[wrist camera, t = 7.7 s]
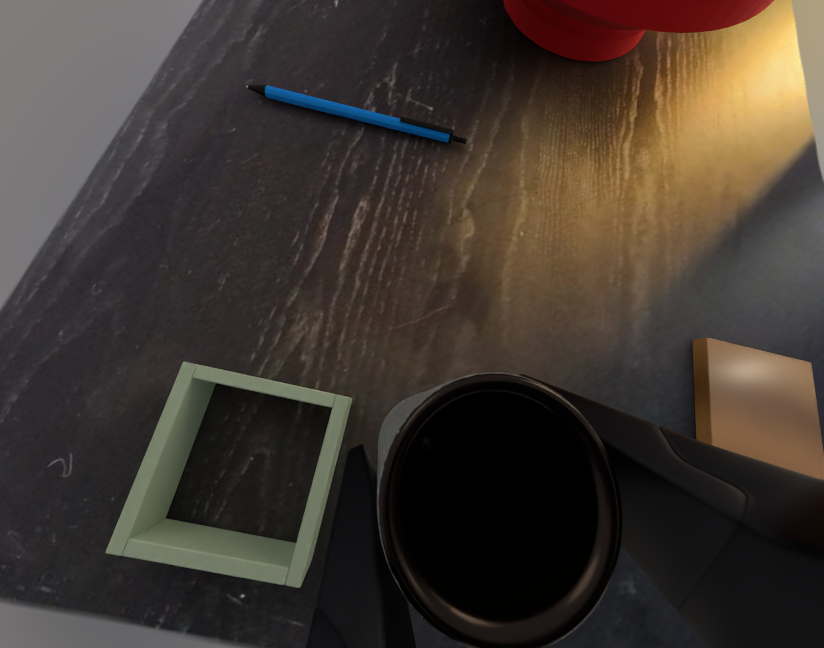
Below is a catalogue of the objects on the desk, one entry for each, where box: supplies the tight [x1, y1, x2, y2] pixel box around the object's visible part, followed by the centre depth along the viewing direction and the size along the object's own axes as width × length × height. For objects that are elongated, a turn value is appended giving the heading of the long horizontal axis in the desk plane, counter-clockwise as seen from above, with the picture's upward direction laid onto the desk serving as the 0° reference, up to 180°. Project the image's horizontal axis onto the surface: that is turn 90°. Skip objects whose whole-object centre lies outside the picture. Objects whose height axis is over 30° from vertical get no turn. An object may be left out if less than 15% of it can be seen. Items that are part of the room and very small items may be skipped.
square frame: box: [106, 362, 352, 588], centre depth 19 cm, size 10×10×3 cm
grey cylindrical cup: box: [377, 373, 622, 648], centre depth 10 cm, size 4×4×10 cm
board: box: [693, 338, 824, 480], centre depth 24 cm, size 9×9×1 cm
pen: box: [246, 85, 467, 144], centre depth 27 cm, size 1×19×1 cm, turn 80°
